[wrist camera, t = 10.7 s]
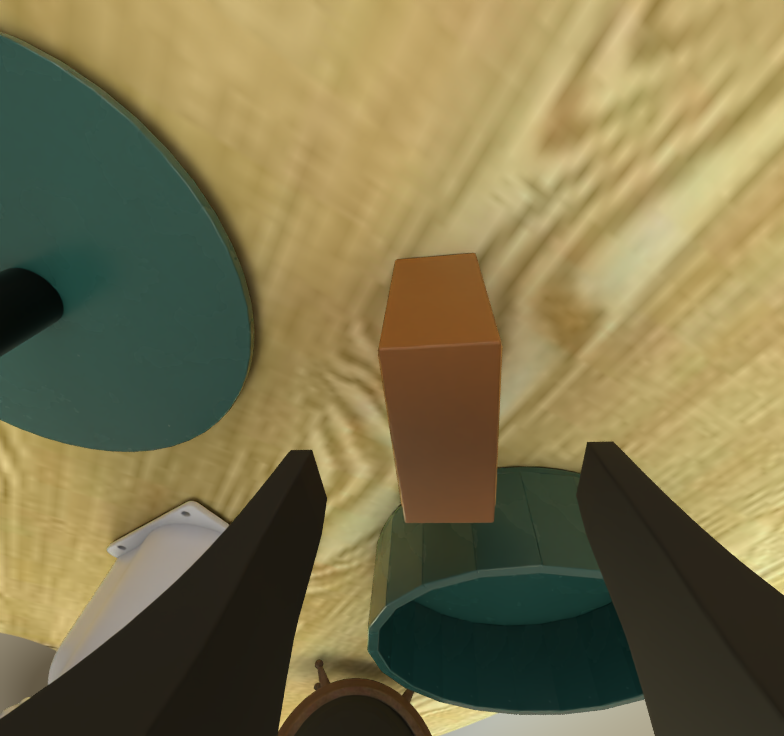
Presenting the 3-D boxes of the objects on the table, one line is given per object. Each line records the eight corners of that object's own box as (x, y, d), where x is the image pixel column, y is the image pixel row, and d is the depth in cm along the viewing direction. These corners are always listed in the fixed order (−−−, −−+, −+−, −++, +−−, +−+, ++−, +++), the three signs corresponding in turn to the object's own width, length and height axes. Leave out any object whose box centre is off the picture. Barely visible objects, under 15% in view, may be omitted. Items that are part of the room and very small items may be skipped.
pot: (503, 644, 32) (515, 732, 28) (327, 557, 27) (307, 649, 23) (715, 559, 24) (780, 665, 20) (522, 415, 19) (551, 513, 15)
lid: (173, 482, 24) (126, 554, 20) (-186, 306, 19) (-339, 360, 15) (339, 260, 16) (312, 313, 12) (-224, -171, 10) (-588, -317, 7)
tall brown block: (409, 403, 19) (402, 523, 14) (392, 259, 15) (374, 349, 10) (477, 400, 19) (496, 523, 14) (478, 252, 15) (505, 341, 10)
